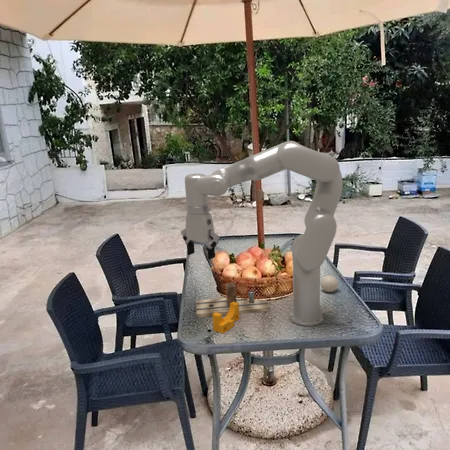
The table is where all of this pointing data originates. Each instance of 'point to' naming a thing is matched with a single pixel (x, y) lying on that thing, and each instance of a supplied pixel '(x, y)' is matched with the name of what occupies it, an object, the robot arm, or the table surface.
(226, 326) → the pipe clamp
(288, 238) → the table surface
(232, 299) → the block
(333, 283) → the baseball
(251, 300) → the fixed leg
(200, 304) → the board
